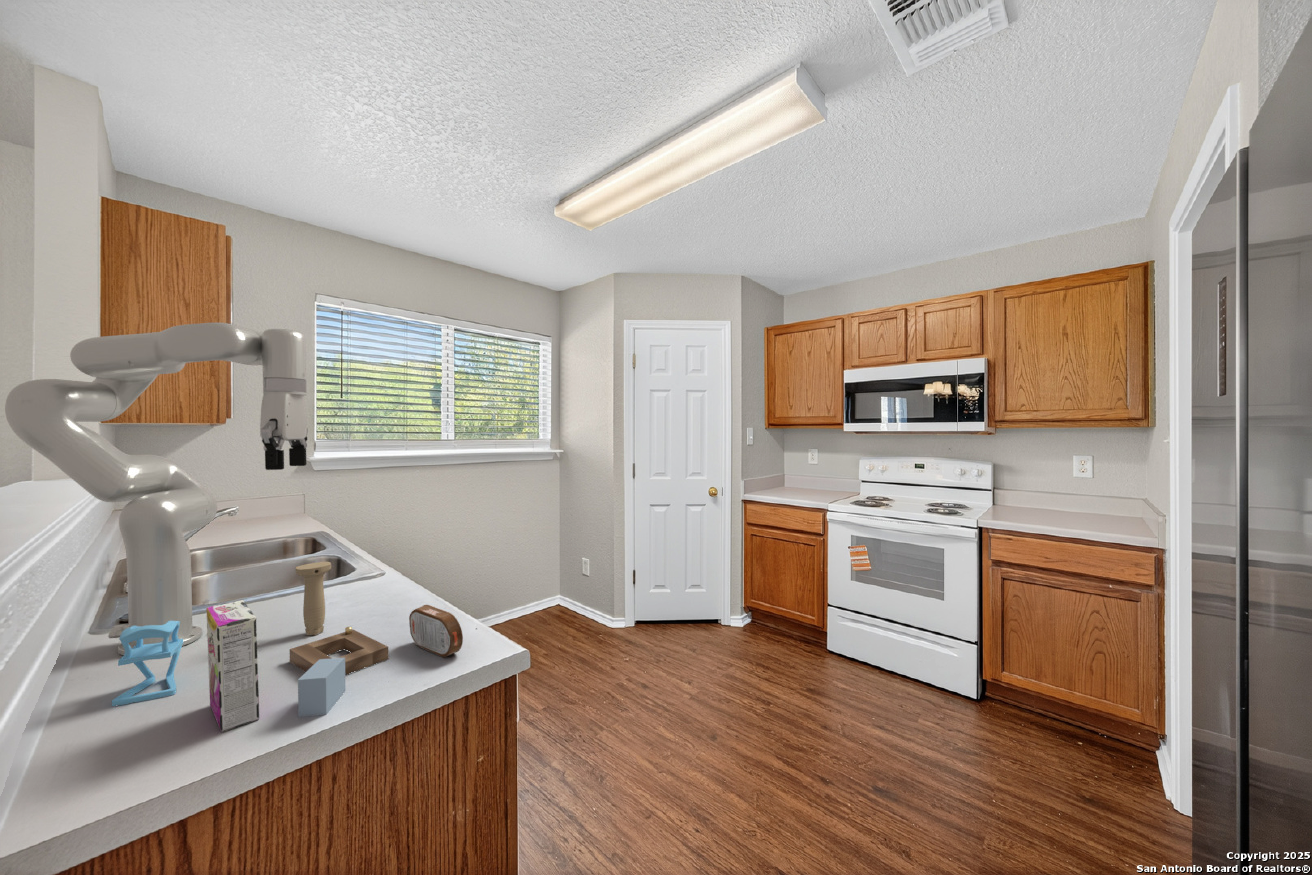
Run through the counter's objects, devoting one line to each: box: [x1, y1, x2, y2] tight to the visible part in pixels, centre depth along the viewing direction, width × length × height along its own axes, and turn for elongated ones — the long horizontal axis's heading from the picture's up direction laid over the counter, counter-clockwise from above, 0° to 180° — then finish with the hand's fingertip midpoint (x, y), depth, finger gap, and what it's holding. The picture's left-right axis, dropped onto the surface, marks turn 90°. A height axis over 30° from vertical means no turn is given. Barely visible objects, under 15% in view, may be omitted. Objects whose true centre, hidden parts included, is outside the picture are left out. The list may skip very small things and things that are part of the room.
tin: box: [408, 604, 464, 658], centre depth 102 cm, size 15×3×8 cm, turn 57°
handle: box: [295, 561, 332, 637], centre depth 110 cm, size 5×6×15 cm
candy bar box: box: [205, 599, 260, 733], centre depth 80 cm, size 11×5×16 cm, turn 48°
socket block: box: [289, 626, 389, 676], centre depth 98 cm, size 12×14×4 cm
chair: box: [111, 621, 183, 707], centre depth 87 cm, size 8×8×12 cm
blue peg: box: [297, 657, 346, 718], centre depth 83 cm, size 4×7×6 cm, turn 10°
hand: (286, 467), depth 108 cm, fingers open, 9 cm apart
